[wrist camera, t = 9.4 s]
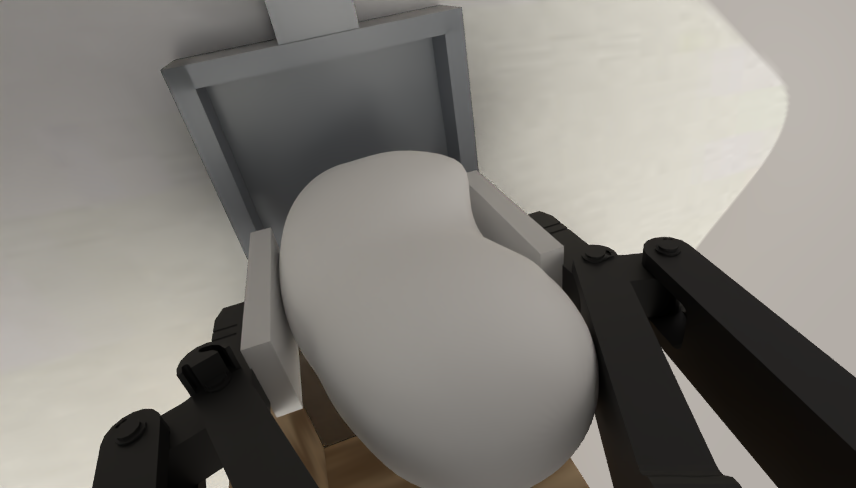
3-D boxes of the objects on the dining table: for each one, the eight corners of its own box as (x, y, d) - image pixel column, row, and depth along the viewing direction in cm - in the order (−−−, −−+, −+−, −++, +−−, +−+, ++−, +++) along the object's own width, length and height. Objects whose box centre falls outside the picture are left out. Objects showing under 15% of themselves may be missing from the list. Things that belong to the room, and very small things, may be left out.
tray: (111, -83, 15) (84, -95, 13) (423, -129, 17) (446, -147, 14) (284, 311, 24) (285, 342, 22) (470, 252, 26) (489, 276, 24)
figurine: (478, 242, 21) (670, 474, 11) (334, 321, 20) (395, 637, 10) (417, 103, 17) (634, 268, 7) (238, 200, 16) (189, 520, 6)
